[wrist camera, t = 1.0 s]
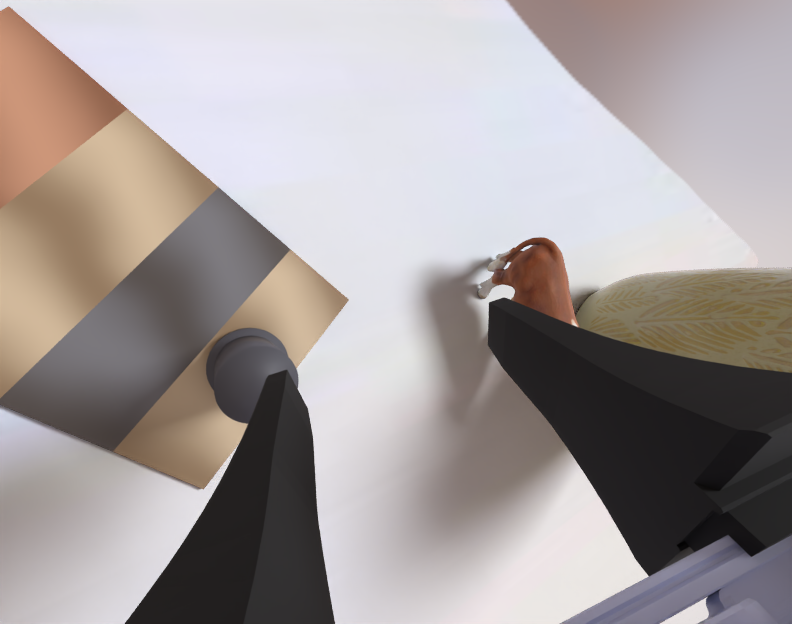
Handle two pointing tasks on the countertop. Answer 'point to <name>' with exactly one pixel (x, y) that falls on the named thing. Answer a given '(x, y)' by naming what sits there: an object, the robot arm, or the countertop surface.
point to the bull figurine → (534, 278)
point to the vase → (700, 315)
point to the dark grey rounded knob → (245, 369)
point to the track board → (126, 271)
